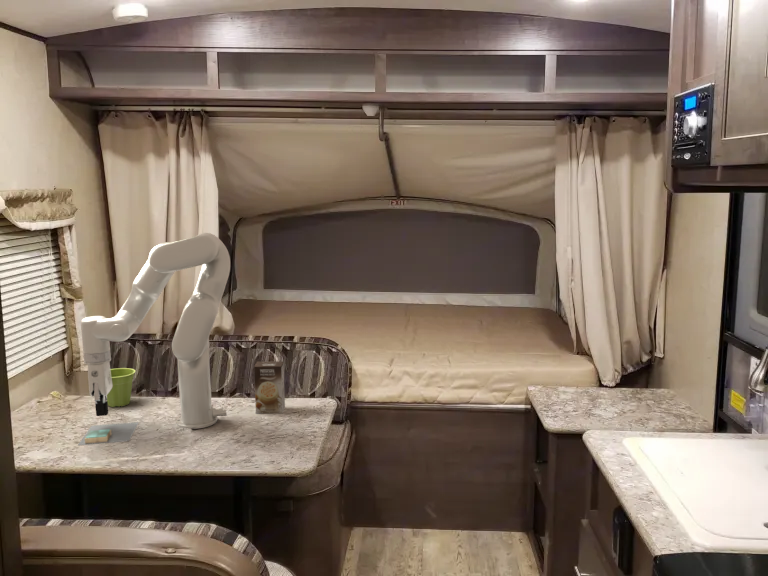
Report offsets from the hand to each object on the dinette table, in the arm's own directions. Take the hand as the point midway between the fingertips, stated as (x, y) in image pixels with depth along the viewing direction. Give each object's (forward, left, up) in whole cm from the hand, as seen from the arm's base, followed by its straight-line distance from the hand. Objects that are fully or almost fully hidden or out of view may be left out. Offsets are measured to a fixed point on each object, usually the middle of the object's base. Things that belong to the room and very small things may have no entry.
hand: (102, 414), depth 202 cm
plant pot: (0, -24, -5) cm, 25 cm away
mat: (-3, +6, -5) cm, 8 cm away
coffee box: (-51, -5, -5) cm, 51 cm away
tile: (+2, +10, -3) cm, 10 cm away
